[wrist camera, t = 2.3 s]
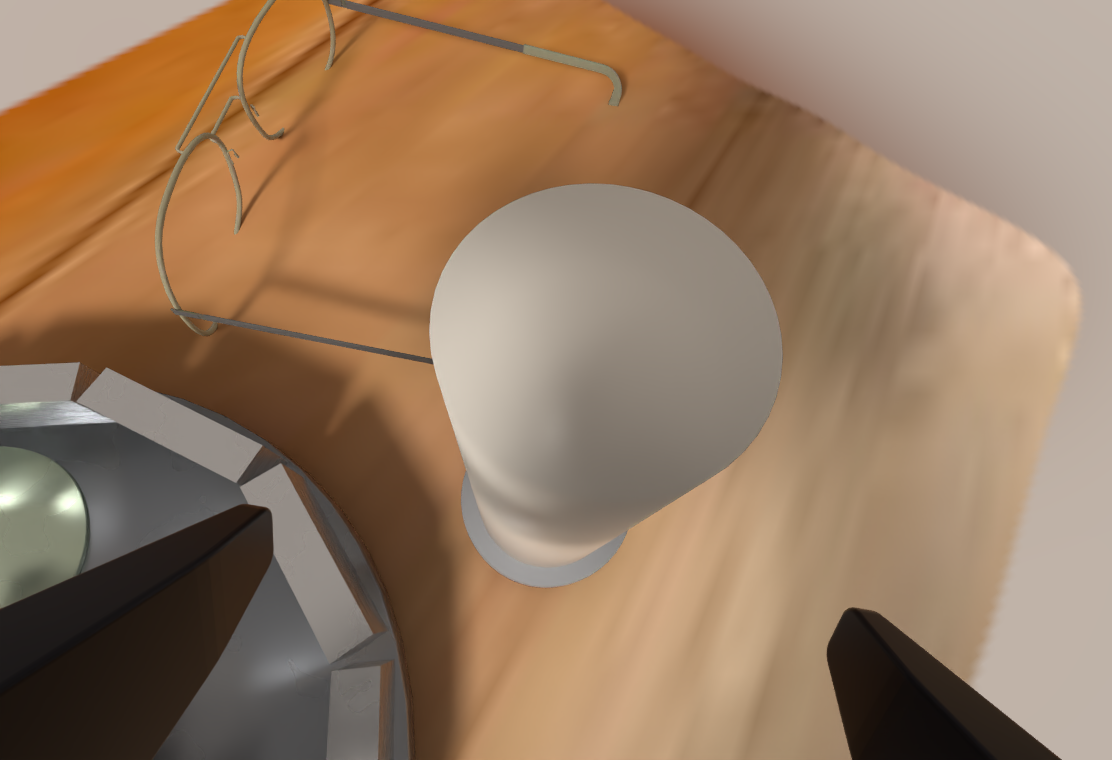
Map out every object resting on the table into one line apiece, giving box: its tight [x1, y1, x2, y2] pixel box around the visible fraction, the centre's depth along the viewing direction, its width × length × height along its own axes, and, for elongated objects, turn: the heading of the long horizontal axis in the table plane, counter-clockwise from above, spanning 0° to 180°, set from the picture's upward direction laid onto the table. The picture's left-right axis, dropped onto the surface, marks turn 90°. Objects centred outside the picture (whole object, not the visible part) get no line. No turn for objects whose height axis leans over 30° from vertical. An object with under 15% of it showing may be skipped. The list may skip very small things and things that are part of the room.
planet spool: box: [429, 183, 783, 588], centre depth 13 cm, size 6×6×13 cm
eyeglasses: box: [155, 0, 622, 364], centre depth 21 cm, size 16×15×5 cm
